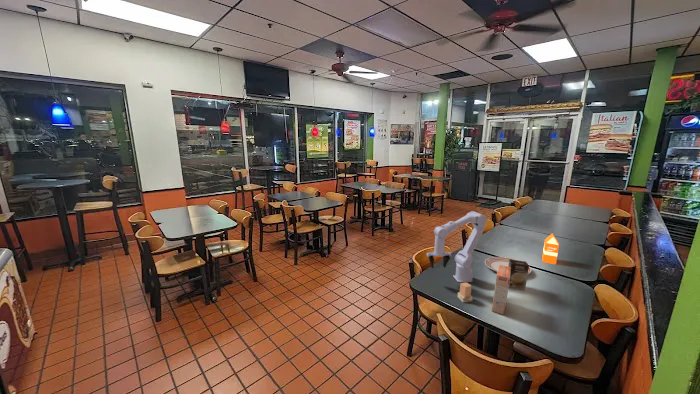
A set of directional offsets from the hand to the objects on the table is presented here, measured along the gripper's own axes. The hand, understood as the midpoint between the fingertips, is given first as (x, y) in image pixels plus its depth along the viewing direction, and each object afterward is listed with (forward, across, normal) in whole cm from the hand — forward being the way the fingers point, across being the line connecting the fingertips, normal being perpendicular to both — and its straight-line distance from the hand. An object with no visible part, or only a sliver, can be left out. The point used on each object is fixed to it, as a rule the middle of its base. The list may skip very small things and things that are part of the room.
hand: (438, 267), depth 164 cm
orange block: (+8, -9, +18) cm, 22 cm away
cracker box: (+11, -24, +26) cm, 37 cm away
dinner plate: (+11, -54, -14) cm, 57 cm away
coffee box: (+11, -45, +8) cm, 47 cm away
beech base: (+11, -9, +18) cm, 23 cm away
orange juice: (+11, -92, -24) cm, 96 cm away
